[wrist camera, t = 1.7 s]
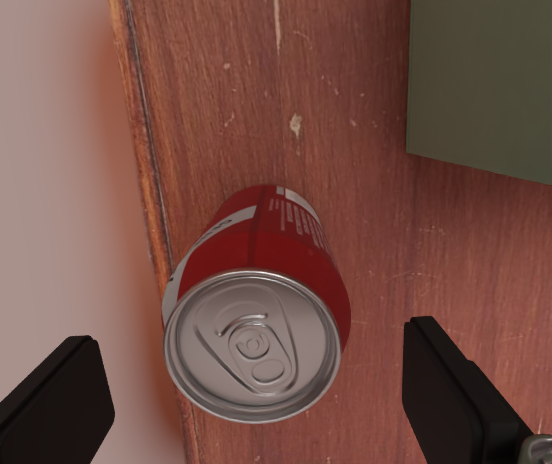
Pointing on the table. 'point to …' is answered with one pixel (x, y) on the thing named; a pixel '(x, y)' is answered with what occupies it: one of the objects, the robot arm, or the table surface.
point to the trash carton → (482, 85)
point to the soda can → (256, 310)
